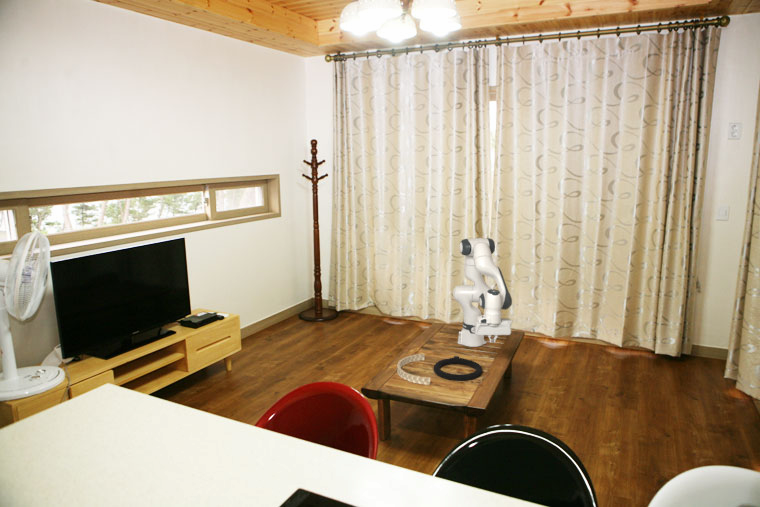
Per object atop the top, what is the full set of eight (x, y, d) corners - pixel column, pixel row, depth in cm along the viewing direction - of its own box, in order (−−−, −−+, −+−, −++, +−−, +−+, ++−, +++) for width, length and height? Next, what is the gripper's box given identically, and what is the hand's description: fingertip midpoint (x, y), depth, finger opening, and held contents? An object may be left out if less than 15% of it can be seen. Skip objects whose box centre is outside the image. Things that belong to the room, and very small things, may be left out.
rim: (395, 359, 314) (395, 354, 314) (424, 359, 315) (424, 353, 314) (398, 385, 278) (398, 379, 277) (430, 384, 278) (430, 378, 277)
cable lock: (433, 375, 283) (433, 354, 312) (433, 381, 283) (433, 361, 313) (484, 376, 280) (479, 355, 309) (484, 383, 280) (479, 362, 310)
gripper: (510, 316, 294) (509, 340, 297) (474, 317, 294) (473, 340, 297) (512, 320, 288) (512, 343, 290) (476, 320, 288) (475, 344, 290)
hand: (492, 342), depth 293 cm, fingers closed
